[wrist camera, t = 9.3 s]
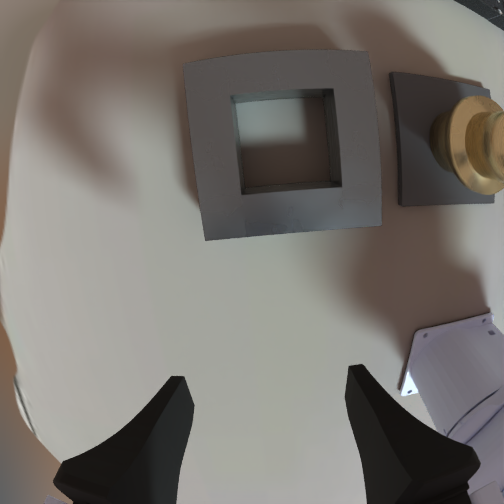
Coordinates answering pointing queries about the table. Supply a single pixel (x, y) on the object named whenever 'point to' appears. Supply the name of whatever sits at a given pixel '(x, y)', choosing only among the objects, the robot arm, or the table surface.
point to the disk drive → (487, 10)
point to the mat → (427, 140)
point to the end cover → (471, 143)
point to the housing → (296, 194)
